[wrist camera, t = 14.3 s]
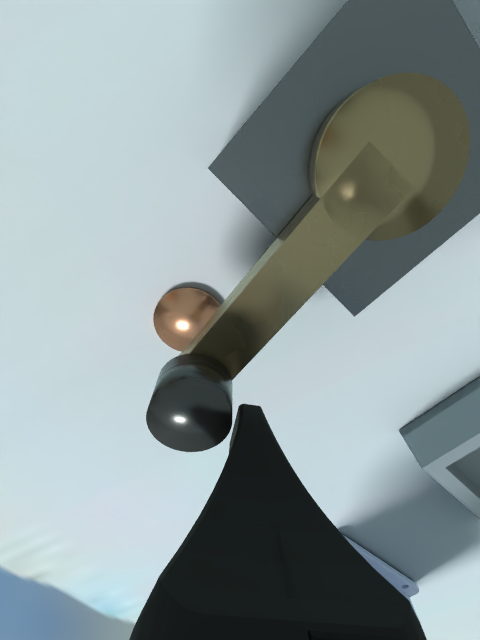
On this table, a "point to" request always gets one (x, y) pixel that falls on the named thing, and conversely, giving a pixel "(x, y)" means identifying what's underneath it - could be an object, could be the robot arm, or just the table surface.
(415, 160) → the crank
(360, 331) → the table surface
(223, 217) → the table surface
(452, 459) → the tray
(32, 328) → the table surface
